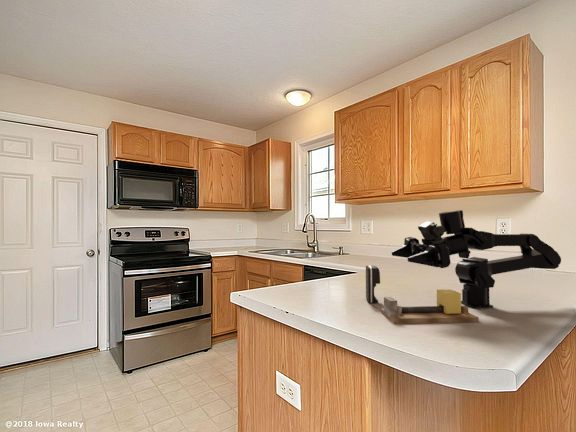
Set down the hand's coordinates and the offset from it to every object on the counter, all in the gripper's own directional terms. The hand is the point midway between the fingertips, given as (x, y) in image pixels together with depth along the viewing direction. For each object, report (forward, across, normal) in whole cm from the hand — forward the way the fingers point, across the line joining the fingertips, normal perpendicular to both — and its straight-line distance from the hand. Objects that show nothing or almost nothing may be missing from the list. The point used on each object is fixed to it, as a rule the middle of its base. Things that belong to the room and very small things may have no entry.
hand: (399, 256), depth 94 cm
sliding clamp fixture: (0, +10, +15) cm, 18 cm away
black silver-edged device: (+7, -9, +16) cm, 19 cm away
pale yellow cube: (-6, +11, +14) cm, 19 cm away
